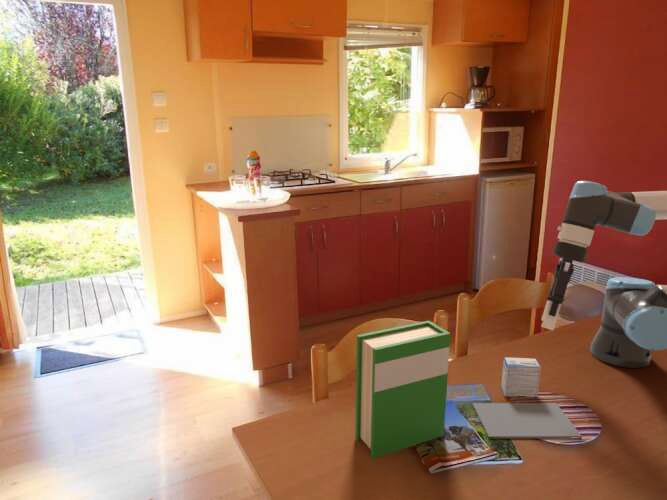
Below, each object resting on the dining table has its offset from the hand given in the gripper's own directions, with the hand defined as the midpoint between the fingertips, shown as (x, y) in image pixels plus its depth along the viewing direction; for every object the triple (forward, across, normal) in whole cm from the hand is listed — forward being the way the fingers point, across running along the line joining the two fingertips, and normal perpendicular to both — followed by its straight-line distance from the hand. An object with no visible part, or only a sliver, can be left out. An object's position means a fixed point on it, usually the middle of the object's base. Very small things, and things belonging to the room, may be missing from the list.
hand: (546, 325), depth 131 cm
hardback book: (+29, +32, -22) cm, 49 cm away
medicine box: (+18, +4, -2) cm, 19 cm away
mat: (+20, +16, +1) cm, 26 cm away
